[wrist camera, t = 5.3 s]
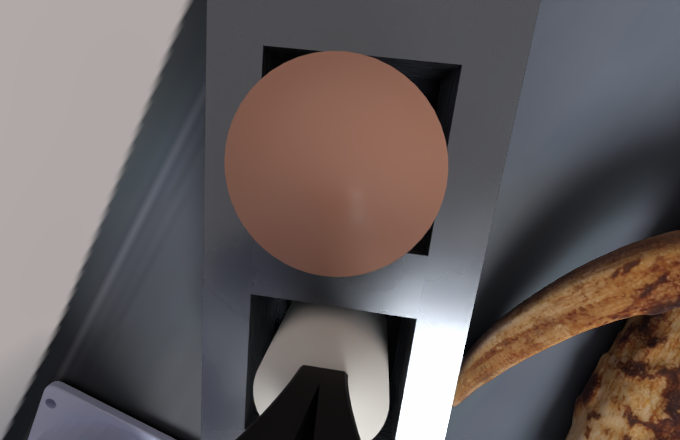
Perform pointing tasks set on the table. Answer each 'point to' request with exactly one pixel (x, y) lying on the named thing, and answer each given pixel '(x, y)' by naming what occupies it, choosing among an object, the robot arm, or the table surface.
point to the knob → (331, 358)
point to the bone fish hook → (624, 355)
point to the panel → (417, 264)
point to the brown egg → (336, 163)
